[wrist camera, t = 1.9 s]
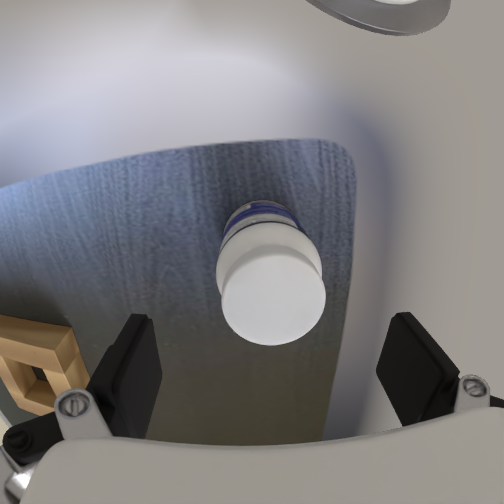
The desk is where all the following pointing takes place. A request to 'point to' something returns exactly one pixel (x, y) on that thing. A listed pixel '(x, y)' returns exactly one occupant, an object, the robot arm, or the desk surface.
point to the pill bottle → (269, 275)
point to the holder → (39, 362)
